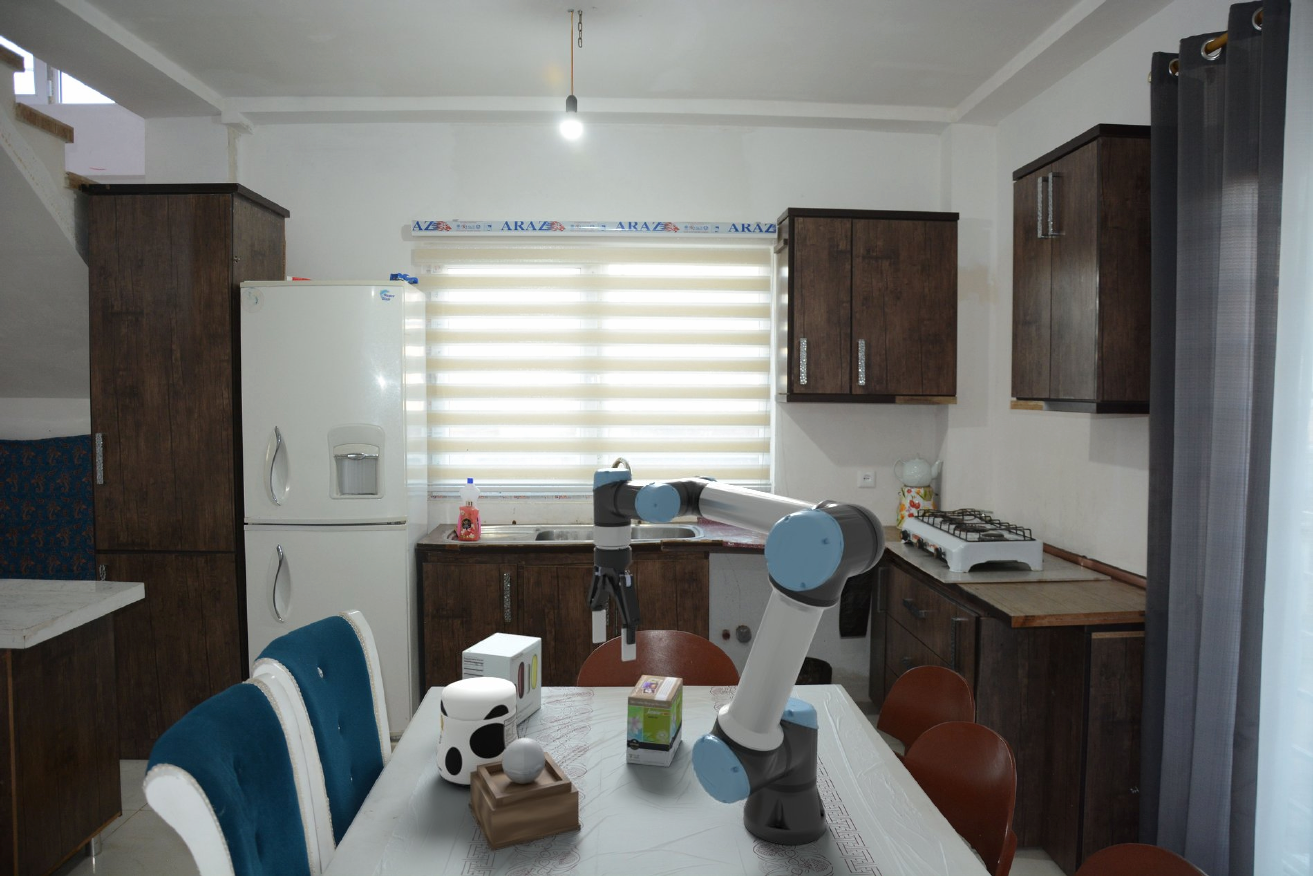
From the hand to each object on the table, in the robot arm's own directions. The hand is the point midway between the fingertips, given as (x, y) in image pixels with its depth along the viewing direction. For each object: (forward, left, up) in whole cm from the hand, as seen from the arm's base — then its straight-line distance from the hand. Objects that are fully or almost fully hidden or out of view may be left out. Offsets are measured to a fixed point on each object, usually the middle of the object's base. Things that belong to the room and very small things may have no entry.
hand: (613, 650), depth 163 cm
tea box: (+11, -15, -28) cm, 34 cm away
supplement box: (+45, +10, -28) cm, 54 cm away
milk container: (+17, +23, -28) cm, 40 cm away
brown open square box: (-4, +20, -28) cm, 35 cm away
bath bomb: (-4, +20, -21) cm, 29 cm away
